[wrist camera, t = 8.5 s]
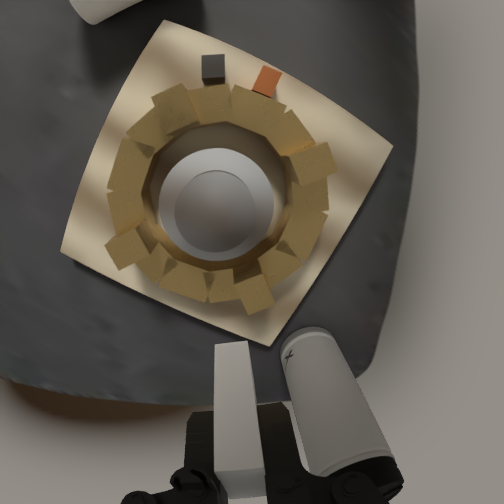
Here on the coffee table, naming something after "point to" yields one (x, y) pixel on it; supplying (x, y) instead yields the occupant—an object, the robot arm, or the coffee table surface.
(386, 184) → the coffee table surface
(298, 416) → the travel mug
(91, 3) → the mug
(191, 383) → the coffee table surface
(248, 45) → the coffee table surface
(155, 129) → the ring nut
